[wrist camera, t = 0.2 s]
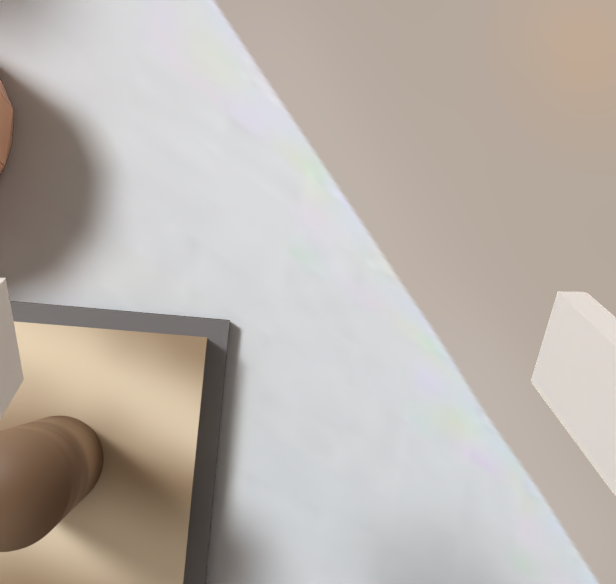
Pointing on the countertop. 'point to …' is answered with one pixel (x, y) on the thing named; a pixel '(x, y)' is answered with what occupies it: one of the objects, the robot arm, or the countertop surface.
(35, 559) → the lid
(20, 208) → the countertop surface
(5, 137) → the bowl
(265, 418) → the countertop surface
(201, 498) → the mat
